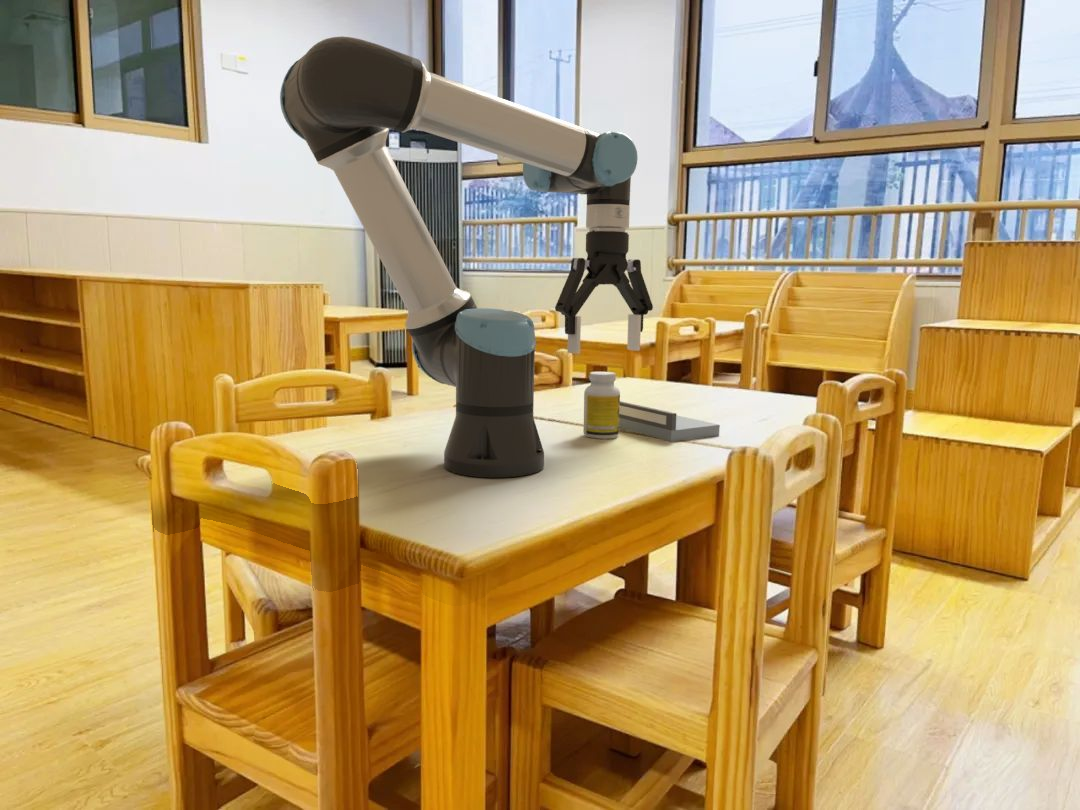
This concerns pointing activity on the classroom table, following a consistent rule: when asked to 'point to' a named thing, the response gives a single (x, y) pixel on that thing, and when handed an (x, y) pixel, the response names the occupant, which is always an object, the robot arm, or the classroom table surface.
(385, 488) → the classroom table surface
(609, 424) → the pill bottle
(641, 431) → the grey piece
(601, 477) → the classroom table surface
